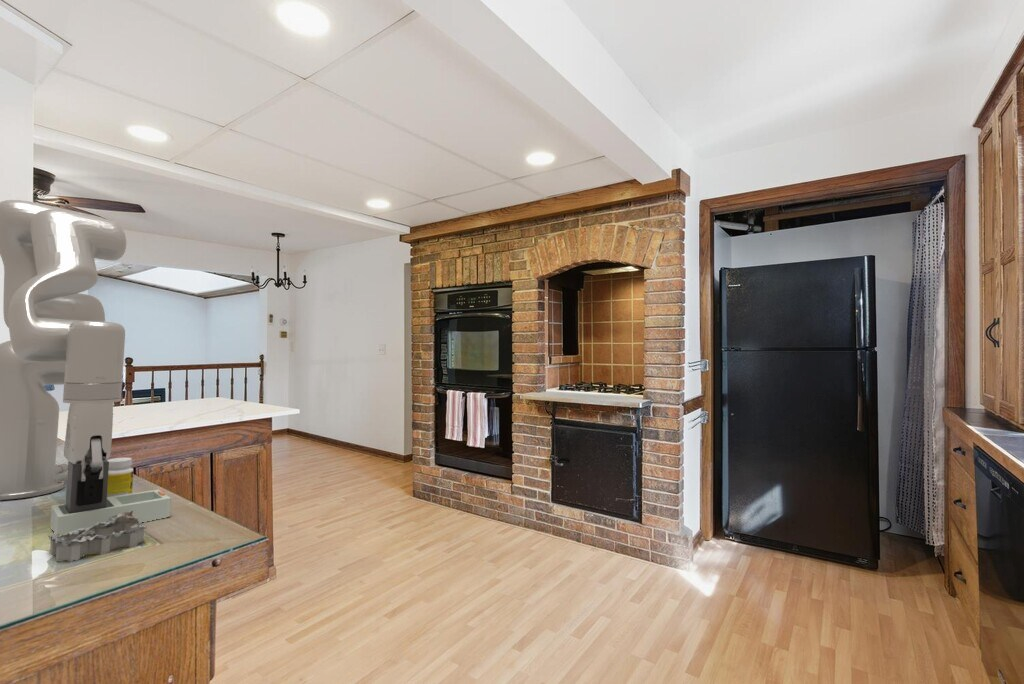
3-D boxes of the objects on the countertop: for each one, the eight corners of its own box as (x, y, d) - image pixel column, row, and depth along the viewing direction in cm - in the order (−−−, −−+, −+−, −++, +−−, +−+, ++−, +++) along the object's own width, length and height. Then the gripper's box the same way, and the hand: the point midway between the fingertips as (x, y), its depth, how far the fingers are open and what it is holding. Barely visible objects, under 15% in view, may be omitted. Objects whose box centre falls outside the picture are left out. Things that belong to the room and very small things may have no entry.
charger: (69, 515, 78) (72, 464, 78) (65, 508, 81) (68, 460, 81) (106, 509, 81) (109, 460, 82) (100, 503, 84) (103, 456, 85)
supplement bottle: (135, 501, 95) (138, 459, 95) (105, 507, 91) (108, 463, 91) (126, 497, 98) (128, 456, 98) (96, 502, 94) (99, 459, 94)
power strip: (56, 539, 75) (58, 515, 75) (49, 526, 80) (51, 503, 81) (169, 517, 87) (171, 496, 87) (157, 507, 92) (158, 487, 92)
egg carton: (134, 534, 79) (136, 509, 80) (148, 546, 75) (149, 519, 75) (45, 552, 71) (47, 524, 71) (54, 567, 66) (56, 537, 67)
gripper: (56, 390, 84) (49, 494, 84) (71, 397, 73) (63, 517, 73) (110, 389, 90) (104, 486, 89) (132, 396, 79) (125, 507, 78)
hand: (86, 499), depth 81 cm, fingers closed on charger, 4 cm apart
